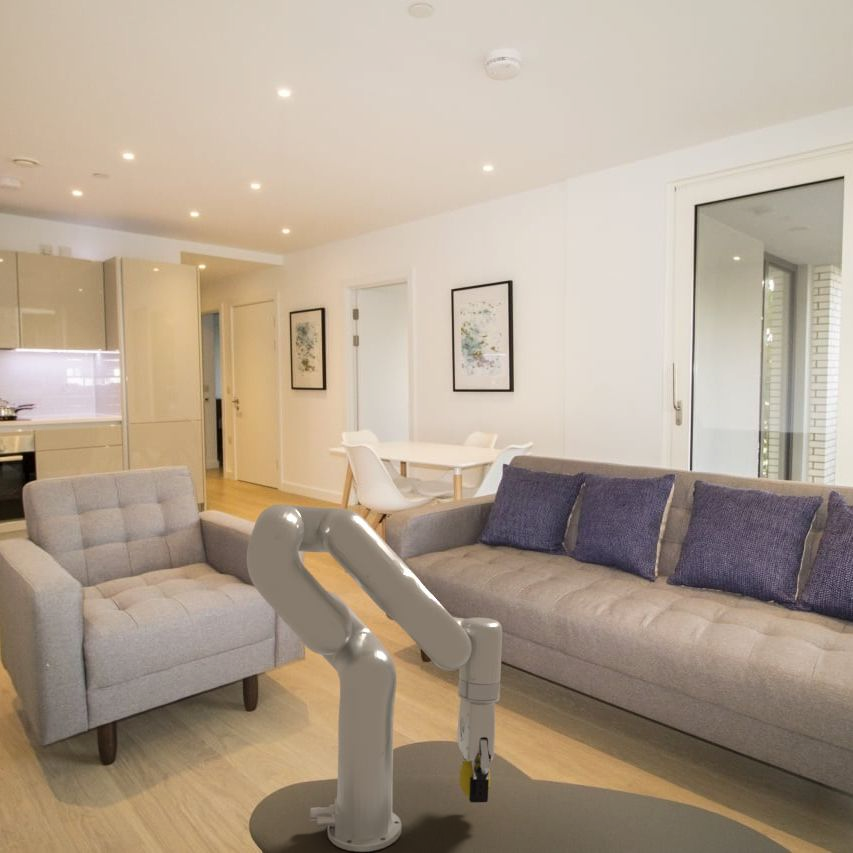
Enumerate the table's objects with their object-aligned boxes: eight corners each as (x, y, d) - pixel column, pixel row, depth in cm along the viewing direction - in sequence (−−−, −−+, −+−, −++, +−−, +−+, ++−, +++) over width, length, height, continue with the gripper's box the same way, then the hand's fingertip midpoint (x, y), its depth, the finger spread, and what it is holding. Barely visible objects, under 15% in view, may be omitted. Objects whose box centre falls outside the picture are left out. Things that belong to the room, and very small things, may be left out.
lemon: (487, 810, 111) (489, 762, 112) (456, 805, 112) (458, 758, 113) (490, 796, 117) (492, 750, 117) (460, 791, 118) (463, 746, 119)
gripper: (450, 674, 124) (445, 771, 123) (469, 705, 107) (463, 818, 106) (487, 675, 125) (483, 771, 124) (512, 705, 108) (507, 817, 107)
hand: (474, 791), depth 115 cm, fingers closed on lemon, 5 cm apart
